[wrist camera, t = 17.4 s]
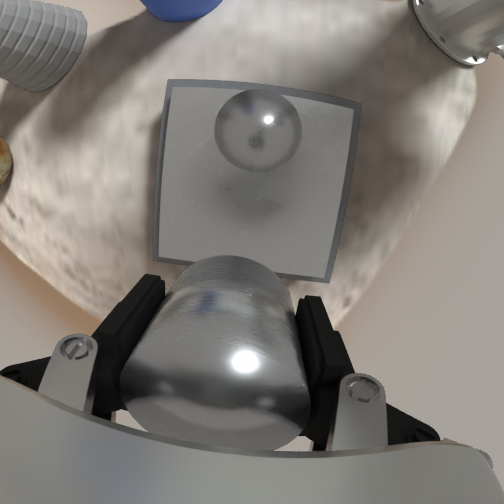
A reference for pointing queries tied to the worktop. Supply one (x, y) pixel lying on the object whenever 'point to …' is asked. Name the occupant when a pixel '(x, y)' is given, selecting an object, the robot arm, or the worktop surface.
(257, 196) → the pan
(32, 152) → the worktop surface
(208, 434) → the cylinder
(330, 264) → the base
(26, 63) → the soap bottle
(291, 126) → the cylinder
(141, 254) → the worktop surface
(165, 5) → the blue bottle
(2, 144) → the onion
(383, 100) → the worktop surface
